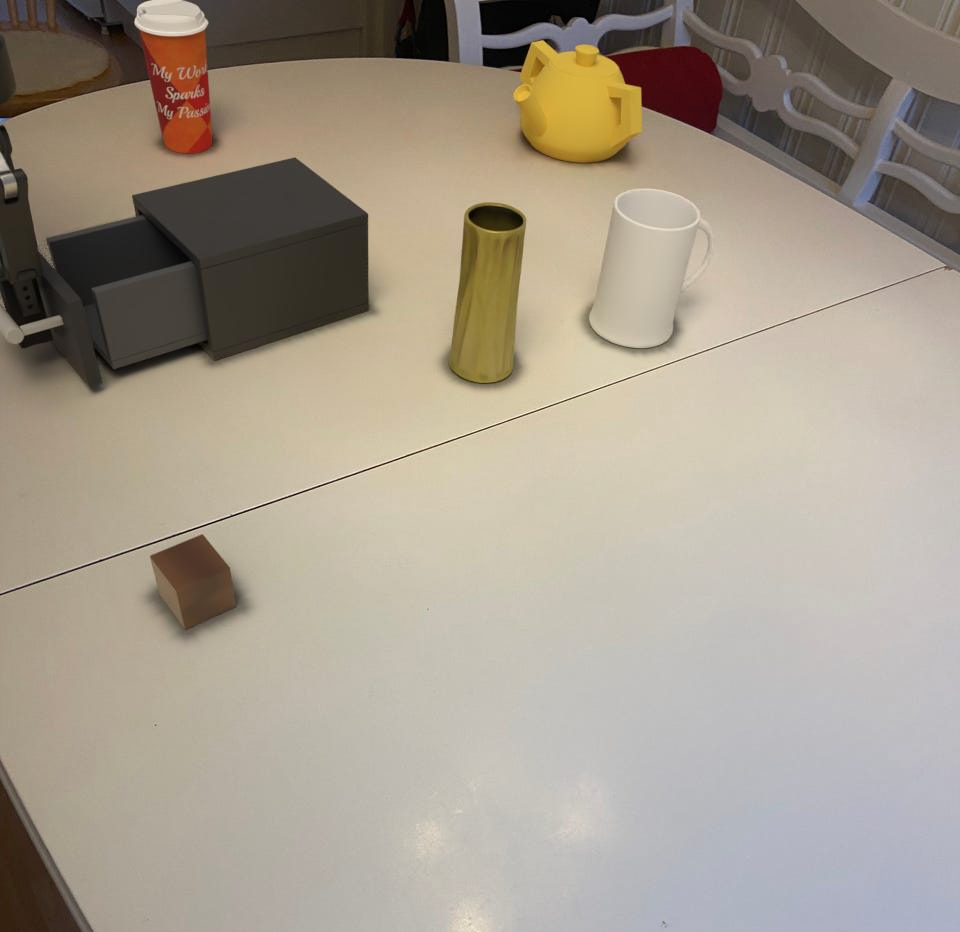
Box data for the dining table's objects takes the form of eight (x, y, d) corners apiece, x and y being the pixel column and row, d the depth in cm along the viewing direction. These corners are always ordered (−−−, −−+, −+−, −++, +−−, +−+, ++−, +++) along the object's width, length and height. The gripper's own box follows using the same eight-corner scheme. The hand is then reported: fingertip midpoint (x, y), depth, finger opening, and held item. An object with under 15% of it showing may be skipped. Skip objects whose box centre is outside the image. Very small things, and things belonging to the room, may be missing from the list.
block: (185, 630, 67) (176, 591, 64) (159, 594, 69) (149, 555, 66) (236, 606, 69) (230, 567, 66) (210, 572, 71) (202, 533, 67)
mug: (680, 296, 101) (710, 182, 92) (715, 341, 96) (751, 226, 87) (576, 305, 99) (597, 188, 89) (607, 352, 93) (632, 234, 84)
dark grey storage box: (214, 361, 87) (199, 259, 80) (150, 295, 93) (131, 194, 86) (368, 310, 95) (368, 213, 87) (301, 252, 101) (295, 156, 93)
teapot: (457, 132, 123) (463, 36, 114) (556, 103, 132) (568, 11, 123) (568, 195, 114) (584, 95, 106) (666, 158, 123) (688, 64, 115)
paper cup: (162, 160, 111) (140, 23, 100) (148, 132, 115) (125, -2, 105) (229, 153, 114) (214, 19, 103) (213, 126, 118) (197, -5, 107)
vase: (469, 339, 93) (482, 192, 82) (524, 361, 91) (545, 214, 80) (436, 368, 89) (445, 219, 78) (493, 392, 88) (510, 243, 77)
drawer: (34, 404, 80) (6, 319, 74) (-18, 336, 85) (-47, 251, 79) (252, 335, 89) (243, 254, 83) (193, 277, 94) (181, 197, 88)
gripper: (36, 59, 63) (109, 365, 81) (-36, -7, 69) (47, 292, 87) (-84, 78, 60) (20, 393, 78) (-149, 6, 66) (-38, 314, 84)
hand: (34, 339), depth 82 cm, fingers closed
